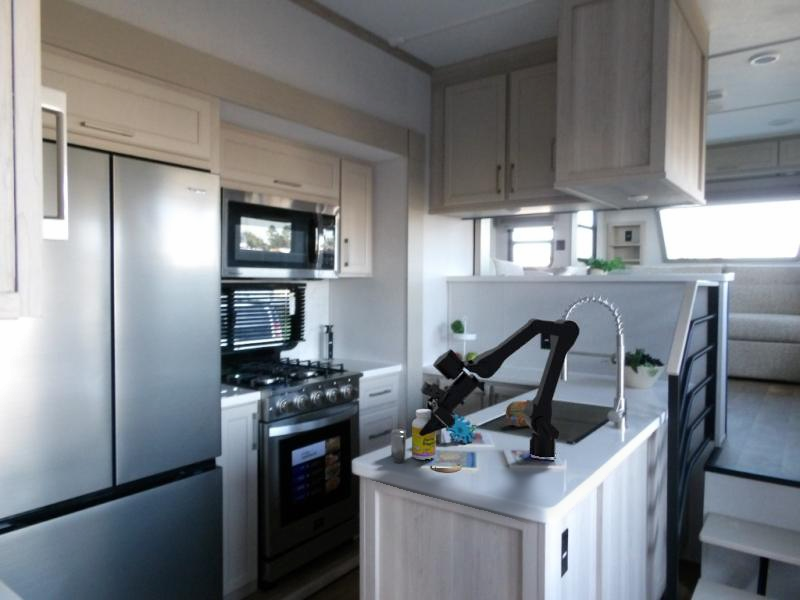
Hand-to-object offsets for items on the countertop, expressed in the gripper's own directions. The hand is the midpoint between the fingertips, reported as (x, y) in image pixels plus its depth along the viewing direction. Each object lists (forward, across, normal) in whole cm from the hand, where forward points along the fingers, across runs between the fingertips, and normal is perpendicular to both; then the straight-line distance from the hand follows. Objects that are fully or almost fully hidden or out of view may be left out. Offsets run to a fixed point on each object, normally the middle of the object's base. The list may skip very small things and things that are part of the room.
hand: (418, 431), depth 158 cm
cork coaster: (+1, +8, +10) cm, 13 cm away
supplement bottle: (+4, 0, +6) cm, 7 cm away
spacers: (+6, -7, +5) cm, 10 cm away
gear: (-5, -16, +16) cm, 23 cm away
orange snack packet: (-22, -35, +34) cm, 54 cm away
